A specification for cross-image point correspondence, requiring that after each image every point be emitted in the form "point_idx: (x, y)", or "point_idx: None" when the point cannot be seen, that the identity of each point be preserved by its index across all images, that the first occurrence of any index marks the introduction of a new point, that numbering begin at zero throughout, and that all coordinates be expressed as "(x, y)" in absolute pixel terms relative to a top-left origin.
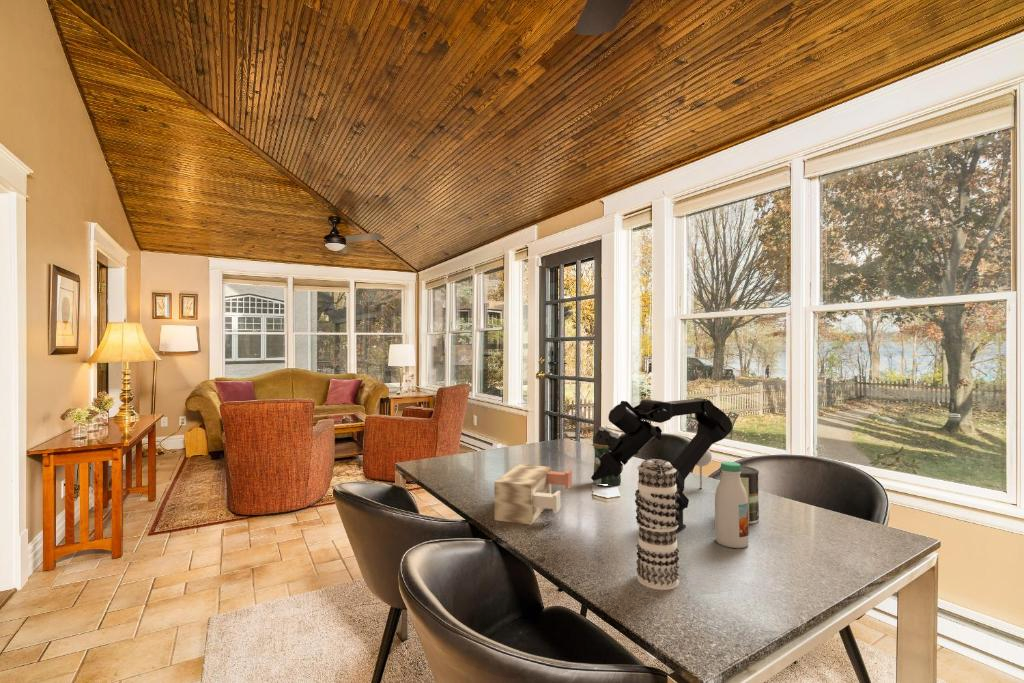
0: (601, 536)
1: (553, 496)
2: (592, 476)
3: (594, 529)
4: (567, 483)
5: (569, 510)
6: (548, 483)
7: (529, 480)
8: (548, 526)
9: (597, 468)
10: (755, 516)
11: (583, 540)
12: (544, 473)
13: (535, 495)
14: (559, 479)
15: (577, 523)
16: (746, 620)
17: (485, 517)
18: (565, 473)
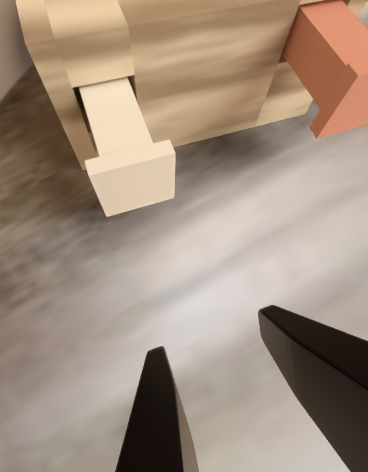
0: (120, 434)
1: (86, 165)
2: (142, 374)
3: (173, 366)
4: (326, 116)
5: (277, 195)
6: (287, 60)
7: (100, 9)
8: (100, 217)
9: (326, 356)
10: None
11: (41, 392)
12: (265, 5)
13: (85, 98)
14: (322, 73)
15: (187, 280)
16: None
17: None
18: (348, 65)
